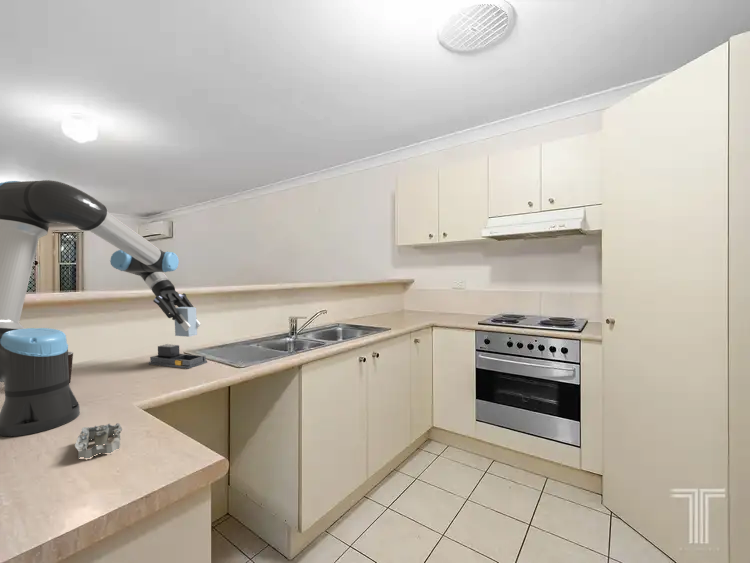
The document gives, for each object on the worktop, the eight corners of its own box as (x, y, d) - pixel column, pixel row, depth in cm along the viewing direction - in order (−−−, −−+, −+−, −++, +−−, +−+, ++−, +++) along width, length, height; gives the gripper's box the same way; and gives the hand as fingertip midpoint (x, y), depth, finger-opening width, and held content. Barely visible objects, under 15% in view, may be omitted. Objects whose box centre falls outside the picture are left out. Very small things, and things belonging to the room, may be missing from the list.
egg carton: (119, 454, 73) (118, 435, 73) (73, 465, 69) (71, 445, 69) (124, 433, 82) (123, 416, 82) (82, 442, 78) (81, 424, 78)
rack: (188, 368, 132) (187, 350, 132) (148, 364, 140) (148, 347, 139) (207, 362, 141) (206, 345, 140) (168, 358, 148) (168, 342, 148)
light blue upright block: (188, 336, 135) (187, 308, 135) (175, 335, 137) (174, 308, 137) (197, 334, 139) (196, 307, 138) (183, 333, 141) (182, 306, 141)
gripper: (174, 290, 151) (205, 330, 146) (135, 293, 134) (169, 338, 130) (183, 277, 148) (215, 317, 144) (144, 279, 132) (179, 325, 128)
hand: (193, 327), depth 137 cm, fingers closed on light blue upright block, 4 cm apart
